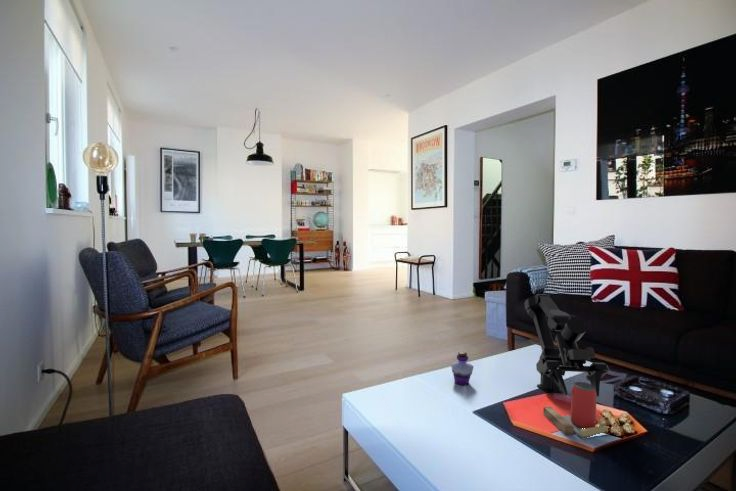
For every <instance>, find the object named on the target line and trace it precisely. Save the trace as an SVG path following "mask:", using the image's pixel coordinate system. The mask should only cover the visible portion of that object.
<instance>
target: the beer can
mask: <svg viewBox="0 0 736 491" xmlns="http://www.w3.org/2000/svg"><path fill="white" fill-rule="evenodd" d="M597 398H598V397H597V394H596V391H595V387H594V386H593V385H591V383H588V382H581V381H576V382H574V383H573V386H572V389H571V398H570V399H571V400H570V415H571V418H570V419H571V422H572V423H573V424H575V425H576V426H578V427H581V428H592V427H595V421H596V419H597V418H596V417H597V414H596V413H597V412H596V411H597Z"/></svg>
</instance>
